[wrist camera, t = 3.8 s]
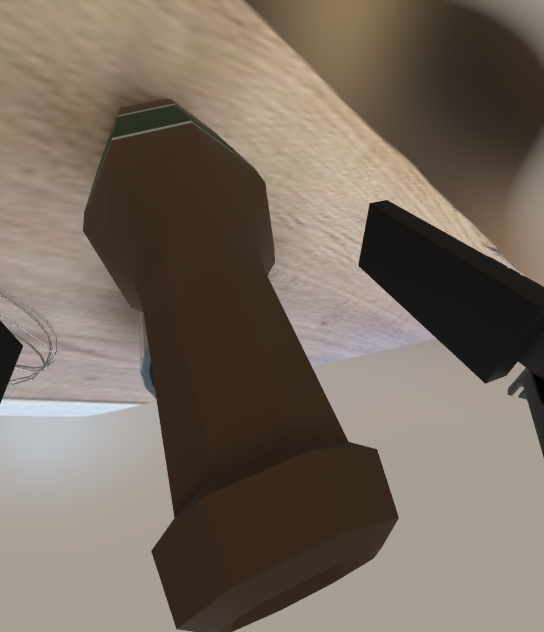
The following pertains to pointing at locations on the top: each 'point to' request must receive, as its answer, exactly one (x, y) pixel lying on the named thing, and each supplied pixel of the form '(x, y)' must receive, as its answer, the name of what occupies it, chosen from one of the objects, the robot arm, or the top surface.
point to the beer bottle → (228, 381)
